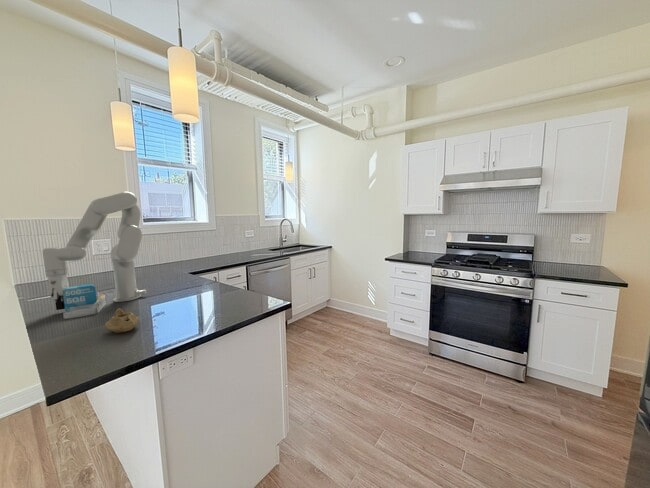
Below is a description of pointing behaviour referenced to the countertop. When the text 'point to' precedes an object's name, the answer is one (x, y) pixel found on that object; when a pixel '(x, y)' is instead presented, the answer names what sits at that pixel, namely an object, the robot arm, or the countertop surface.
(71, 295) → the data package
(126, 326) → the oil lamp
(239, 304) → the countertop surface
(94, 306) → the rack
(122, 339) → the countertop surface
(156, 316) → the countertop surface
